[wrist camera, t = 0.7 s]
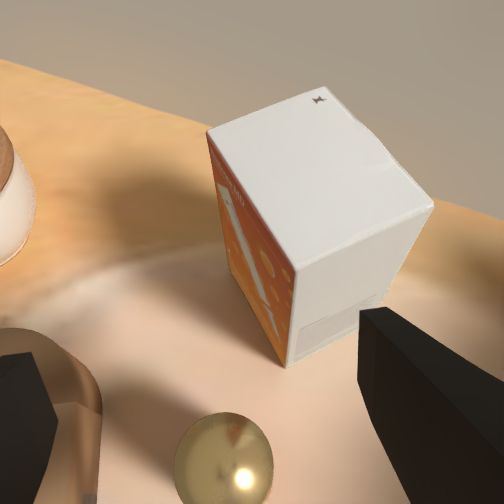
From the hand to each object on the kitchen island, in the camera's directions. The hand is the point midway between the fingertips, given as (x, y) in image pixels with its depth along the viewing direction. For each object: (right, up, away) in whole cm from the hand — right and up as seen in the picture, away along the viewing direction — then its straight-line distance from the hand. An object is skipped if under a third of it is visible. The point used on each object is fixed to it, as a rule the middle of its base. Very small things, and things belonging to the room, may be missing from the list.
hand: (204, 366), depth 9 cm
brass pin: (0, -10, +13) cm, 16 cm away
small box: (+4, -1, +19) cm, 19 cm away
